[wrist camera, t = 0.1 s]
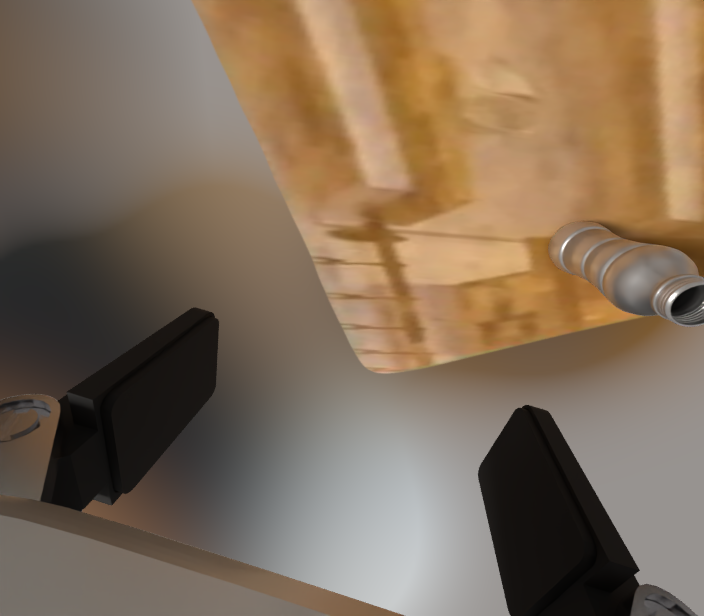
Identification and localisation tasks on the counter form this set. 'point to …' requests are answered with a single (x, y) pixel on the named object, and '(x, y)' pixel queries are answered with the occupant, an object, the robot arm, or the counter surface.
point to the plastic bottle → (632, 272)
